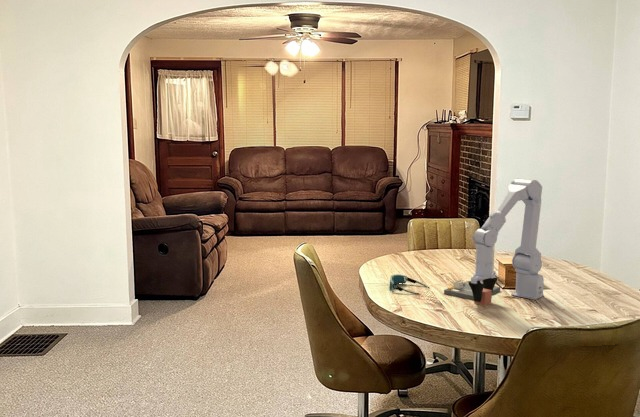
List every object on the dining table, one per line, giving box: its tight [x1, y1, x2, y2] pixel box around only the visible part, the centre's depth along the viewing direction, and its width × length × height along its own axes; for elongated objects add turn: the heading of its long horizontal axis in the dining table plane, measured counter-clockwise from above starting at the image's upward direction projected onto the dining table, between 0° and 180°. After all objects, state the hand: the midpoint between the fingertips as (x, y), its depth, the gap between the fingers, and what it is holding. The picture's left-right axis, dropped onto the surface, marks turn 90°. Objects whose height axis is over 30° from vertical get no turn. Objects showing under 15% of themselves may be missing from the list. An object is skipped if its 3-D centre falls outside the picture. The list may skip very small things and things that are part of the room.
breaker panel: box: [443, 280, 501, 301], centre depth 234 cm, size 14×18×2 cm
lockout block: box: [473, 288, 492, 307], centre depth 220 cm, size 4×4×5 cm
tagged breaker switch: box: [452, 279, 464, 289], centre depth 234 cm, size 2×3×3 cm
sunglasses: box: [388, 274, 430, 295], centre depth 240 cm, size 14×15×5 cm
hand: (482, 299), depth 220 cm, fingers open, 7 cm apart
